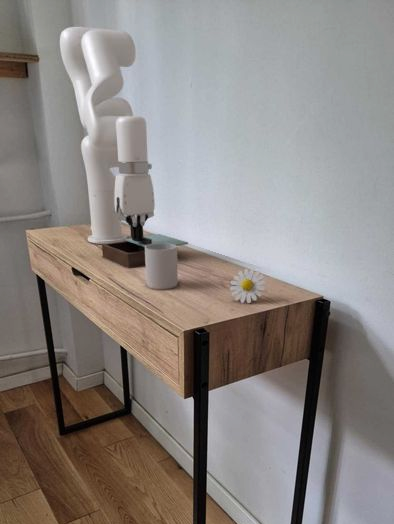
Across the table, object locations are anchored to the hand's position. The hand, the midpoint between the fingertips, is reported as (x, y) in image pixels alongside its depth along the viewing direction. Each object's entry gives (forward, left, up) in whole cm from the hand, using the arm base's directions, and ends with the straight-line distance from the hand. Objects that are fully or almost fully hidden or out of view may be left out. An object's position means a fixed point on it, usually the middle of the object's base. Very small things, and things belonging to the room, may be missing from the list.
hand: (137, 240), depth 132 cm
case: (0, -1, -5) cm, 5 cm away
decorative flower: (+41, +1, -5) cm, 41 cm away
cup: (+24, -8, -5) cm, 26 cm away
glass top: (0, +6, -1) cm, 6 cm away
